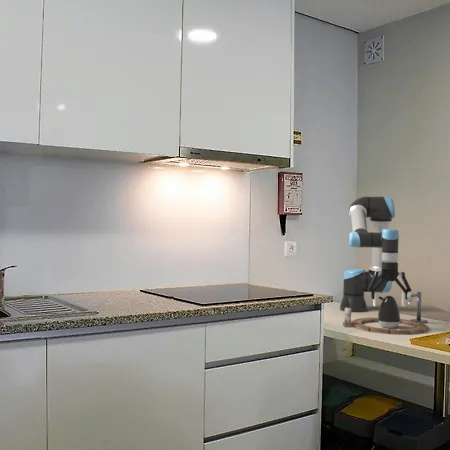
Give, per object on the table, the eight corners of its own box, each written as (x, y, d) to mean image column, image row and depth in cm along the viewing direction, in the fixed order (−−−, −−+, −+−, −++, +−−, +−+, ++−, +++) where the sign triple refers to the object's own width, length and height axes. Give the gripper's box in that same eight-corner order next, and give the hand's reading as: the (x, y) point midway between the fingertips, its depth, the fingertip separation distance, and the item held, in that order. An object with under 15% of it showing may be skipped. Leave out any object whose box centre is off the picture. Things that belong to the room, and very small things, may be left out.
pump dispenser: (382, 324, 269) (383, 293, 269) (403, 327, 263) (403, 295, 263) (373, 327, 261) (374, 295, 261) (394, 330, 255) (395, 297, 255)
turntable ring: (336, 319, 279) (336, 303, 279) (412, 321, 279) (412, 304, 279) (351, 333, 245) (351, 314, 245) (438, 334, 245) (438, 315, 245)
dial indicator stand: (417, 321, 280) (417, 288, 280) (427, 323, 275) (428, 290, 275) (400, 323, 272) (401, 290, 272) (411, 325, 267) (411, 291, 267)
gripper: (365, 261, 258) (364, 307, 259) (418, 262, 258) (417, 307, 258) (361, 260, 266) (360, 304, 266) (413, 261, 266) (412, 305, 266)
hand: (389, 306), depth 262 cm, fingers open, 13 cm apart
